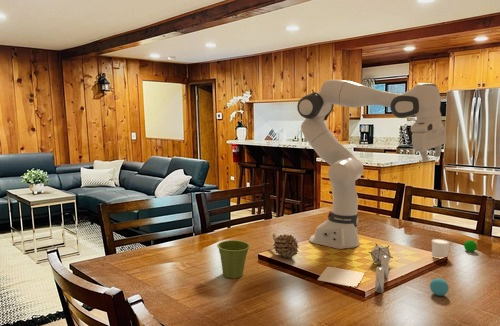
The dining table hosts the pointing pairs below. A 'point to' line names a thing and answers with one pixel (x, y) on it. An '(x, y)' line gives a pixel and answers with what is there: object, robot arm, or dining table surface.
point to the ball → (439, 286)
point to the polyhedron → (470, 246)
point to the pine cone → (285, 245)
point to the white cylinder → (440, 248)
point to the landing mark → (341, 276)
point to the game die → (379, 253)
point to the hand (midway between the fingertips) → (431, 158)
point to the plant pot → (233, 257)
